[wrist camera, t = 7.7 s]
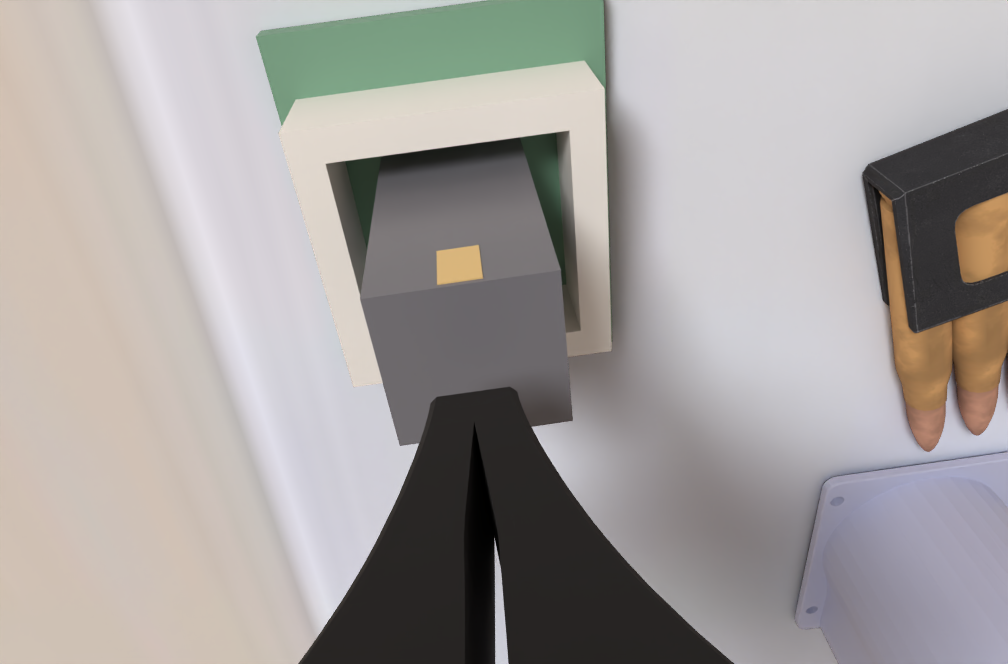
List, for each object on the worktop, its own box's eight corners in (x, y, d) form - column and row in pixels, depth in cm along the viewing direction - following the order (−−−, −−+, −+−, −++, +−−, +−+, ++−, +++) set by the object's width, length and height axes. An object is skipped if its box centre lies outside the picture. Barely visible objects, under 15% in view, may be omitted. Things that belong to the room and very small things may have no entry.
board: (608, 331, 23) (630, 391, 20) (356, 366, 22) (347, 430, 20) (598, -14, 17) (627, 10, 14) (260, 30, 17) (231, 63, 14)
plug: (531, 255, 20) (573, 422, 14) (408, 273, 20) (400, 447, 14) (518, 132, 18) (560, 268, 12) (381, 152, 18) (359, 297, 12)
